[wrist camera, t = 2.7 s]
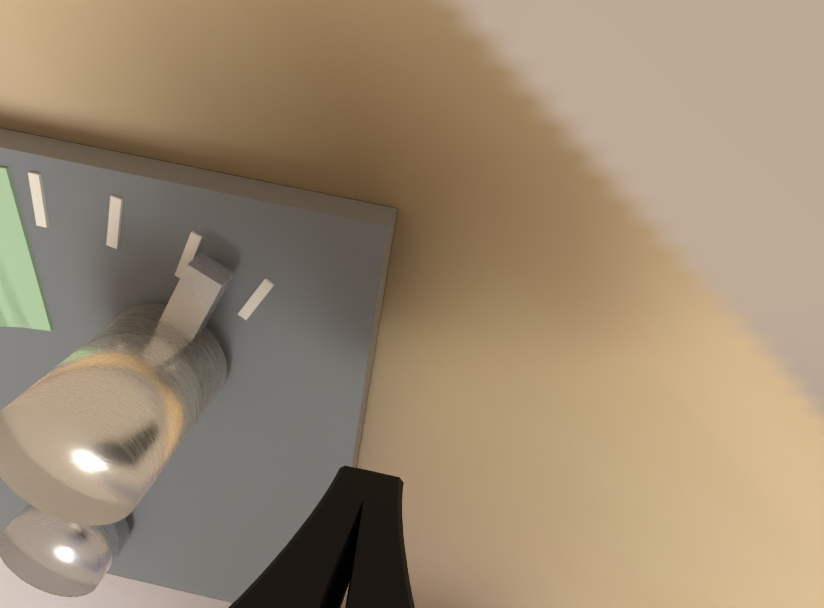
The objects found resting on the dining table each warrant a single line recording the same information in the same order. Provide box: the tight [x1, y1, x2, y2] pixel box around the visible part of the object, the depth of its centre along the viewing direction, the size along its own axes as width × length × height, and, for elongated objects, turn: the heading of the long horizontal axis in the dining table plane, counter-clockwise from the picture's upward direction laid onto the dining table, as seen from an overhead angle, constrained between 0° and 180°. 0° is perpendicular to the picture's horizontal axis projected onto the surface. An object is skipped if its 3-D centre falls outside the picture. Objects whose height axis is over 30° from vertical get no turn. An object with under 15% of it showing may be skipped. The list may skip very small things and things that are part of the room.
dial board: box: [0, 128, 397, 603], centre depth 19 cm, size 17×19×2 cm
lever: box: [0, 253, 235, 597], centre depth 16 cm, size 15×4×5 cm, turn 147°
